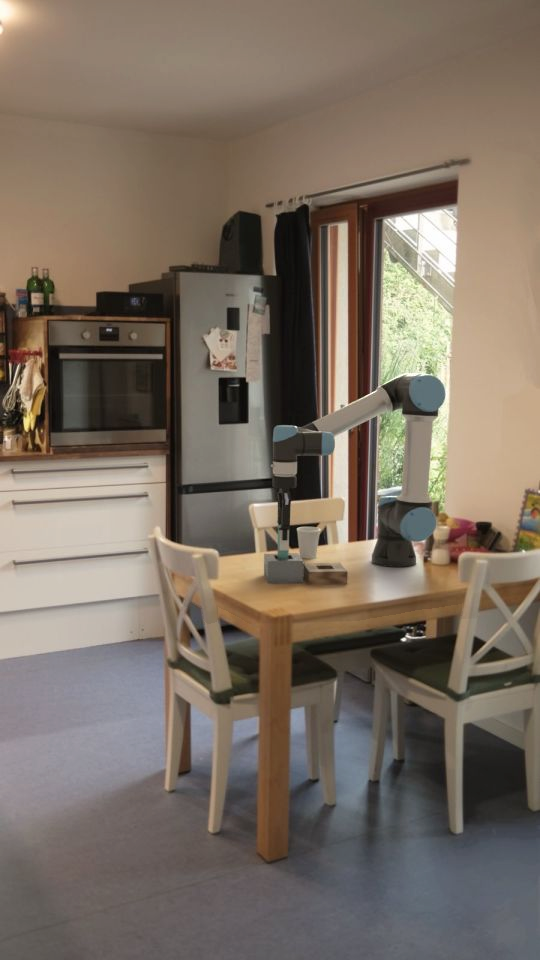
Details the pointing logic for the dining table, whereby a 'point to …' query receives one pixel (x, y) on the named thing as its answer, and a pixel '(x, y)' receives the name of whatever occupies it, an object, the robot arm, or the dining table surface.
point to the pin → (281, 553)
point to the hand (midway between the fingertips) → (283, 548)
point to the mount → (324, 573)
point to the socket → (283, 569)
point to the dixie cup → (308, 541)
